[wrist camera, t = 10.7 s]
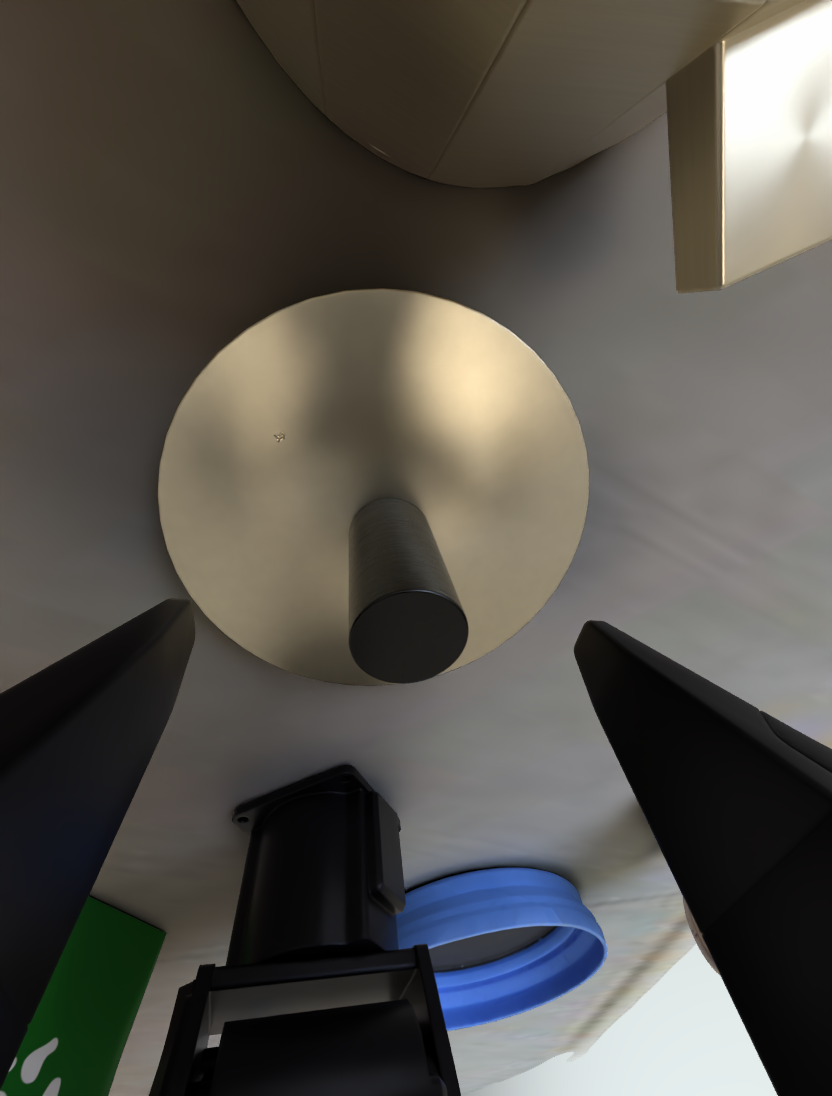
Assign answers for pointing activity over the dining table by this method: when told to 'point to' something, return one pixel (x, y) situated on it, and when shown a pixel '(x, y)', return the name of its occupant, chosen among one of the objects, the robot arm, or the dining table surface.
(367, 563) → the lid
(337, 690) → the dining table surface
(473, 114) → the pot
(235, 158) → the dining table surface
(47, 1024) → the milk carton
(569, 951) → the bowl
